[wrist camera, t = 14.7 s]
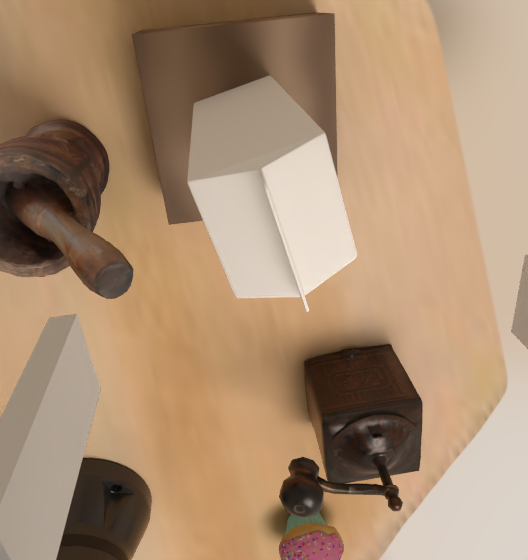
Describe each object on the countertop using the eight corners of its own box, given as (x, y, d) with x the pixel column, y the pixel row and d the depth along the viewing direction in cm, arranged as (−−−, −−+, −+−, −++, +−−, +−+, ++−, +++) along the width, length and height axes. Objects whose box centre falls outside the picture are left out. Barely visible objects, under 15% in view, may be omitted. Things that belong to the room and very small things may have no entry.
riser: (172, 199, 46) (168, 224, 41) (141, 30, 40) (131, 34, 34) (322, 181, 47) (337, 203, 42) (317, 12, 40) (334, 13, 35)
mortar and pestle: (139, 99, 42) (95, 166, 25) (163, 197, 46) (140, 313, 29) (0, 121, 42) (-145, 206, 24) (37, 218, 46) (-64, 349, 28)
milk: (270, 74, 37) (349, 147, 17) (293, 152, 40) (384, 290, 20) (191, 103, 37) (183, 206, 18) (220, 179, 40) (241, 339, 21)
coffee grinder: (394, 338, 57) (467, 465, 41) (394, 410, 62) (459, 547, 47) (257, 361, 56) (279, 498, 41) (269, 432, 62) (292, 578, 46)
